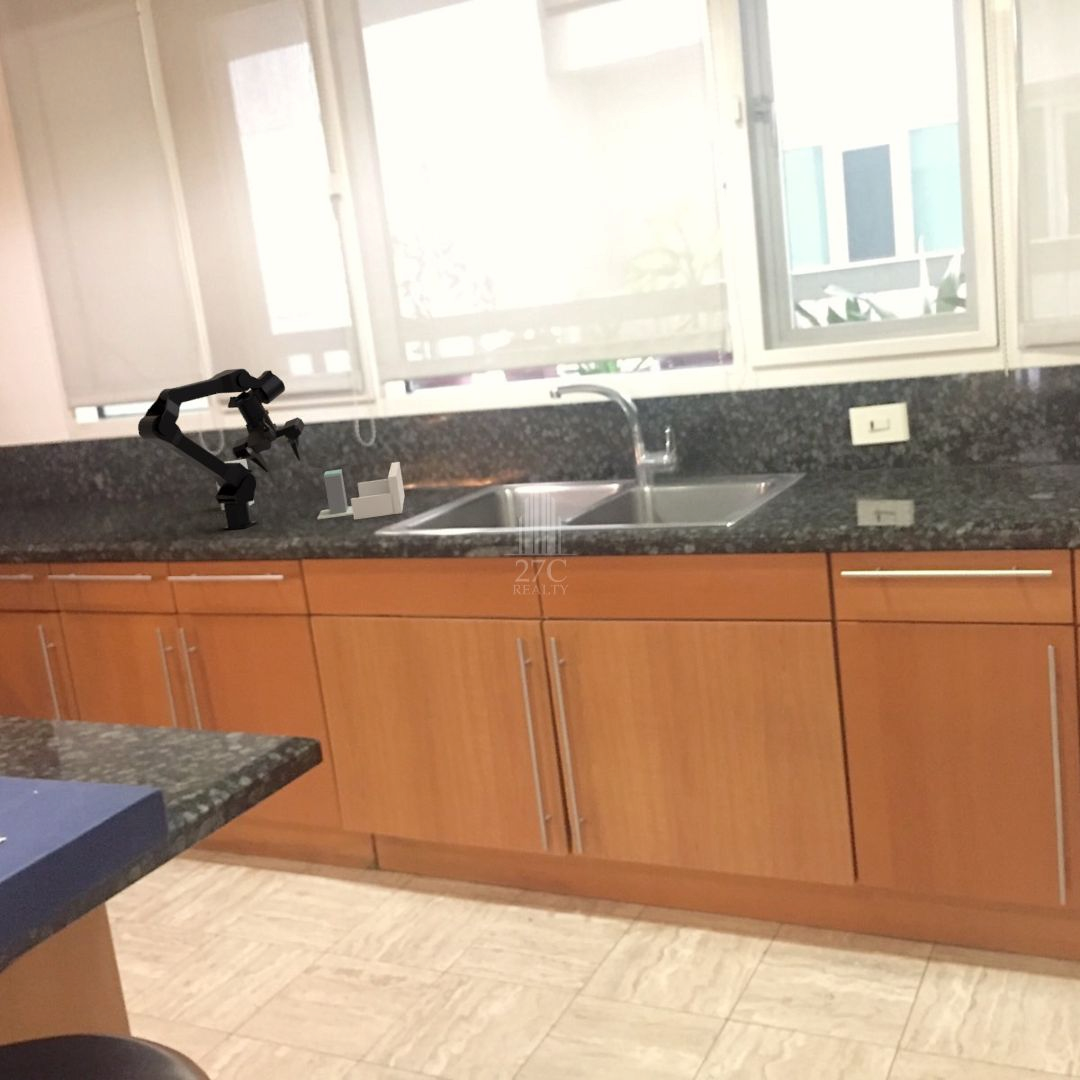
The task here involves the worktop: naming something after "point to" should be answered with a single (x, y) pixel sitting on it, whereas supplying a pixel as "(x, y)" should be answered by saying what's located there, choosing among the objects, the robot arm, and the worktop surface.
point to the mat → (326, 514)
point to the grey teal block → (335, 491)
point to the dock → (380, 496)
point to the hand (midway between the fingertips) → (283, 465)
